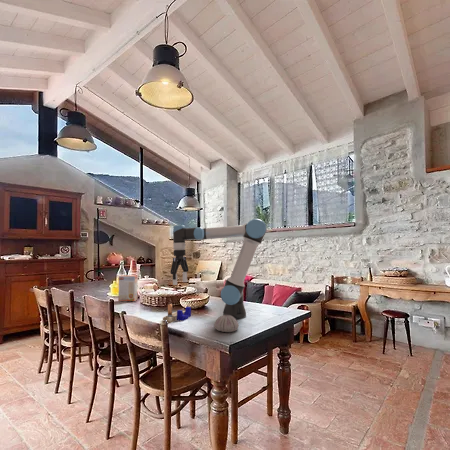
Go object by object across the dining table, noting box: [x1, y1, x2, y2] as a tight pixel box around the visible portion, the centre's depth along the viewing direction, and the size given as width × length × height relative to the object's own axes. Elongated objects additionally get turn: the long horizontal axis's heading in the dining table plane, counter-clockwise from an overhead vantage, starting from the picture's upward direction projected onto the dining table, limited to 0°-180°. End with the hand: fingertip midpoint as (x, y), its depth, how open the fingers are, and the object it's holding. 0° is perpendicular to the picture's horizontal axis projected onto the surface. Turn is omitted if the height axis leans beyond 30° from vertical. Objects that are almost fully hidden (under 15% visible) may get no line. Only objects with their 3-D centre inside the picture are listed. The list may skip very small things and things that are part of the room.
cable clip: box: [176, 306, 192, 322], centre depth 186 cm, size 12×4×6 cm, turn 157°
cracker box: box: [118, 274, 139, 302], centre depth 243 cm, size 14×6×21 cm, turn 82°
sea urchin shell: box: [214, 314, 239, 333], centre depth 160 cm, size 13×14×8 cm
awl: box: [167, 303, 173, 317], centre depth 178 cm, size 3×3×10 cm
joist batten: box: [162, 310, 185, 324], centre depth 183 cm, size 5×20×3 cm, turn 159°
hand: (180, 283), depth 184 cm, fingers open, 13 cm apart
